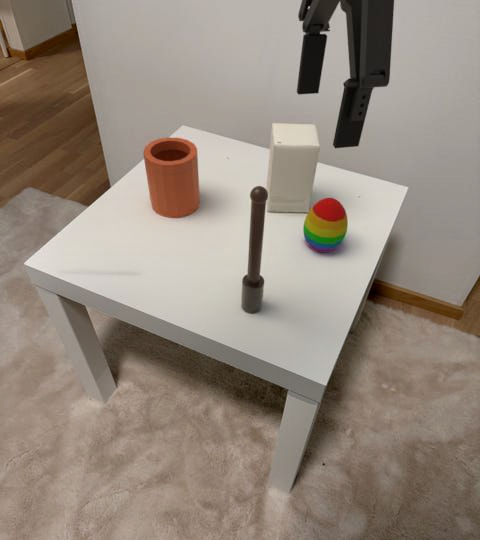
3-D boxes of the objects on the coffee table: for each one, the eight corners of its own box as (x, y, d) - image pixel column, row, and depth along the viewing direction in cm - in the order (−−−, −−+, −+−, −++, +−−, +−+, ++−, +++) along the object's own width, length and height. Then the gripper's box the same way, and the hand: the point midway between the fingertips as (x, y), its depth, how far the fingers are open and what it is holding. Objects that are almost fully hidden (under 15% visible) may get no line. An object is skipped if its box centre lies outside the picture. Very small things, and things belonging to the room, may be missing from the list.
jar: (148, 217, 91) (139, 163, 82) (154, 188, 98) (147, 136, 88) (197, 218, 91) (194, 165, 82) (201, 190, 98) (198, 138, 89)
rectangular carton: (309, 213, 93) (321, 146, 82) (266, 212, 93) (272, 145, 82) (306, 189, 99) (316, 123, 87) (266, 187, 99) (271, 121, 87)
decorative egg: (294, 247, 86) (300, 203, 78) (311, 225, 91) (319, 182, 83) (332, 262, 83) (343, 219, 76) (349, 239, 88) (360, 196, 80)
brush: (241, 313, 75) (245, 195, 57) (241, 297, 77) (245, 179, 59) (262, 313, 75) (273, 195, 57) (261, 298, 77) (272, 180, 59)
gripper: (497, -120, 29) (399, 170, 45) (355, -151, 45) (320, 73, 61) (392, -121, 28) (330, 177, 44) (284, -152, 44) (268, 76, 60)
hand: (324, 117), depth 53 cm, fingers open, 13 cm apart
